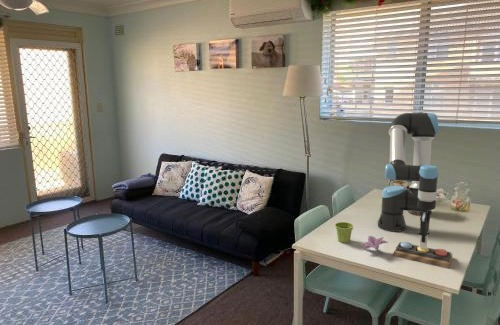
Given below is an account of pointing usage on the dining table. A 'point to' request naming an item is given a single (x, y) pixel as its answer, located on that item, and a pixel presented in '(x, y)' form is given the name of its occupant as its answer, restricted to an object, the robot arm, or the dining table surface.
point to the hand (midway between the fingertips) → (423, 247)
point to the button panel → (423, 256)
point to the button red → (441, 252)
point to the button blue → (406, 245)
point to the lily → (374, 242)
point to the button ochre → (423, 249)
